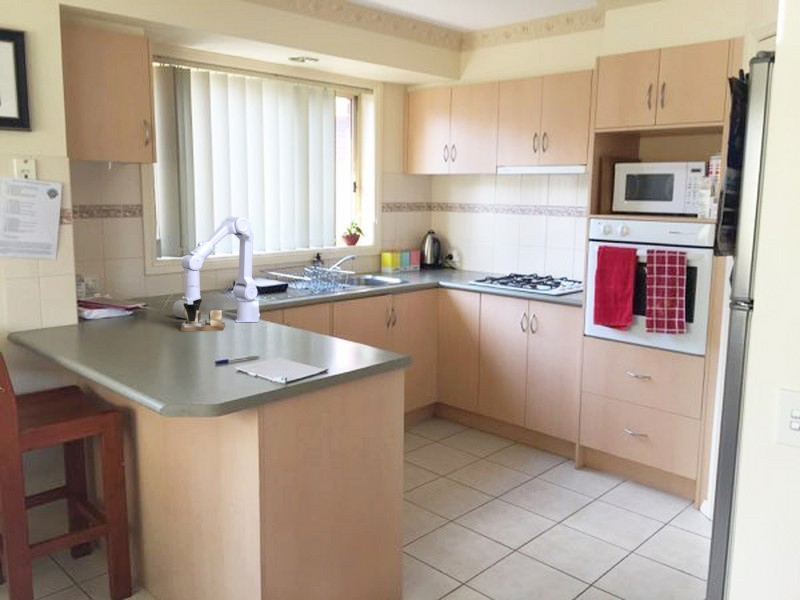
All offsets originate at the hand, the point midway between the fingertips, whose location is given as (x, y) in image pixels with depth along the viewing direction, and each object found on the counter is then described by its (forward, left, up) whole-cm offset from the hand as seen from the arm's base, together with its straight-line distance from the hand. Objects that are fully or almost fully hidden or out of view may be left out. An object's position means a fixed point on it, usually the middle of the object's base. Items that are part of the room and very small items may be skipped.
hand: (193, 319), depth 271 cm
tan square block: (0, 0, -2) cm, 2 cm away
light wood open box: (-4, 0, -4) cm, 5 cm away
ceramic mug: (+6, -23, -4) cm, 24 cm away
